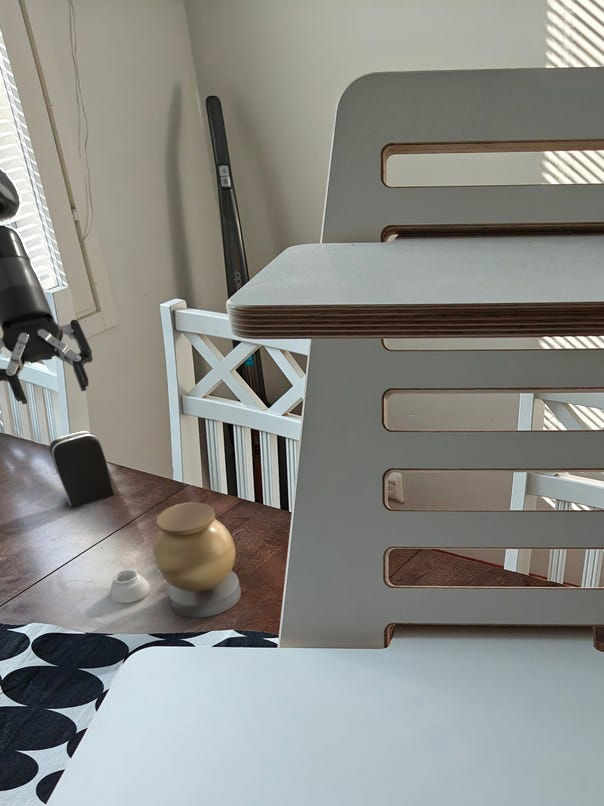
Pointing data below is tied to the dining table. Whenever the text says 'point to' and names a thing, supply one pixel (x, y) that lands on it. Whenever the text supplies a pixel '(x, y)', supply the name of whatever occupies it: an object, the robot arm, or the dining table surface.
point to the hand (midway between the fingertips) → (54, 395)
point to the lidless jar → (128, 587)
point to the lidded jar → (196, 560)
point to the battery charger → (81, 468)
